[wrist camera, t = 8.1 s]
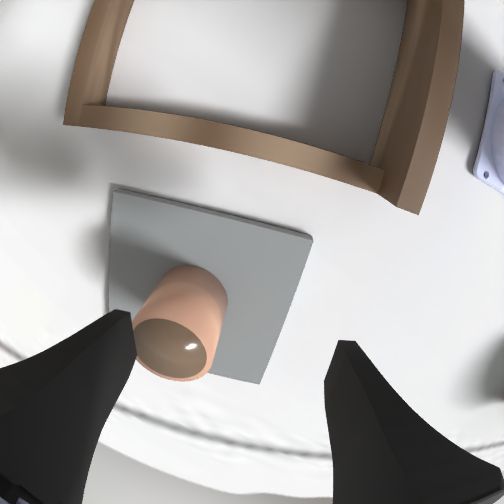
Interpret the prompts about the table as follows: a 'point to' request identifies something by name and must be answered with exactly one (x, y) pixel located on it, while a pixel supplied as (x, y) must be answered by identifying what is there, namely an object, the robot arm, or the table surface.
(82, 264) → the table surface
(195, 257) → the potting mat
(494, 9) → the table surface
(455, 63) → the frame
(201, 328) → the clay pot
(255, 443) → the table surface
